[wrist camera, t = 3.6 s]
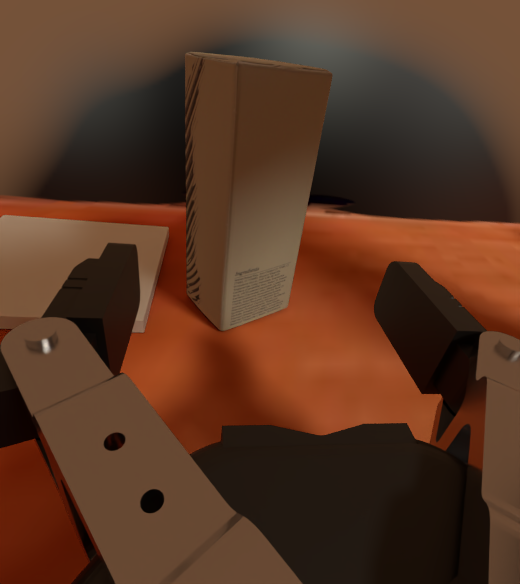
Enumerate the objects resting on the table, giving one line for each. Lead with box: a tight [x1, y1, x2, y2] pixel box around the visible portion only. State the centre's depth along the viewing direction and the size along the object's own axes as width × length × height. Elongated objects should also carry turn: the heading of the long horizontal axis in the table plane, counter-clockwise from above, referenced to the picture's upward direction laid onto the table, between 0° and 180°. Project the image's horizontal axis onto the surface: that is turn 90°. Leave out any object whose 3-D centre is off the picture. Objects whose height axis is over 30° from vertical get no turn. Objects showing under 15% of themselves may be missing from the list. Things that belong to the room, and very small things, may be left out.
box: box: [185, 52, 332, 331], centre depth 19 cm, size 5×4×13 cm
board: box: [0, 215, 169, 333], centre depth 23 cm, size 12×12×1 cm
